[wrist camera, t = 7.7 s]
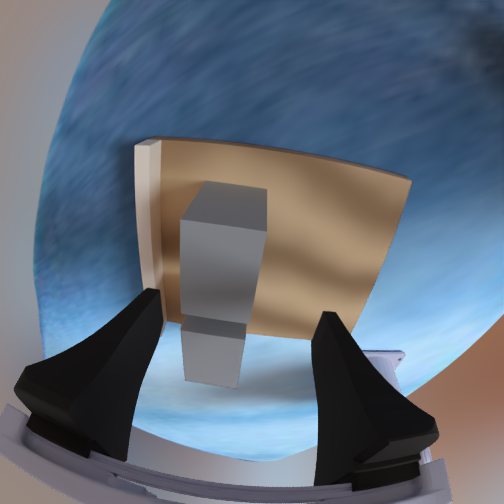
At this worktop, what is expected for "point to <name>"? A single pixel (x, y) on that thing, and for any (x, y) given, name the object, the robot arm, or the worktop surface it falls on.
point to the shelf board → (290, 228)
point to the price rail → (149, 216)
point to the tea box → (222, 251)
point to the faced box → (212, 350)
